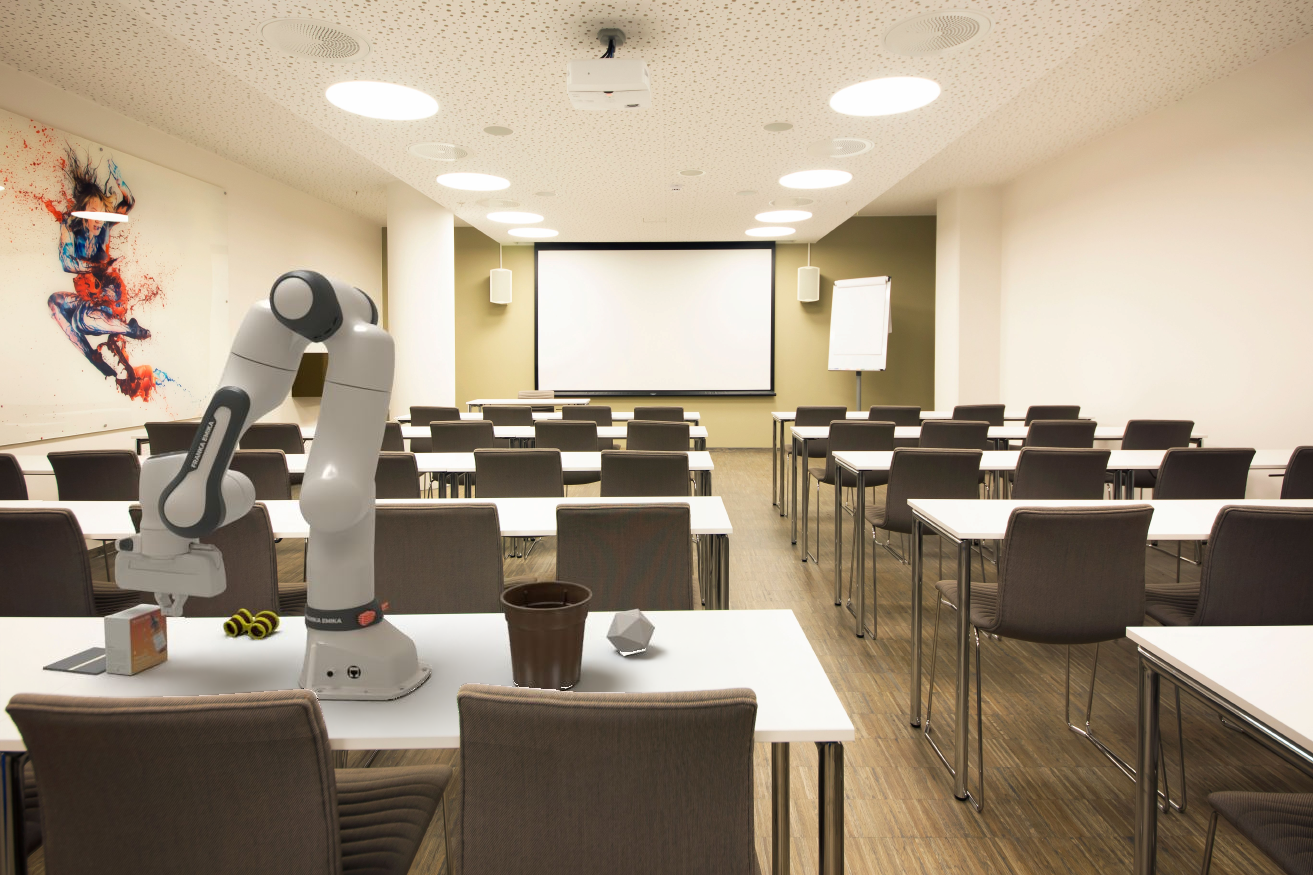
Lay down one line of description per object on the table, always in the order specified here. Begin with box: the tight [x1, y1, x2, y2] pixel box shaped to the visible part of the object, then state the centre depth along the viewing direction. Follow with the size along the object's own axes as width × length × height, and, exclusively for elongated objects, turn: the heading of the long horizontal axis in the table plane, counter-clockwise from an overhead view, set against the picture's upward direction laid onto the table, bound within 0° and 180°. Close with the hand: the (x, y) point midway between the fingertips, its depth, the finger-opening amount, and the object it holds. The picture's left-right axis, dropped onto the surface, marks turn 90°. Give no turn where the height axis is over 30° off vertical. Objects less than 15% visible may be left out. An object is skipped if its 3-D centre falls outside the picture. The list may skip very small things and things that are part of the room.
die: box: [606, 608, 656, 652], centre depth 147 cm, size 8×9×10 cm
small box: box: [103, 603, 169, 676], centre depth 135 cm, size 8×6×10 cm
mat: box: [42, 646, 106, 676], centre depth 137 cm, size 12×10×1 cm
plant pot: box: [500, 580, 593, 691], centre depth 132 cm, size 16×16×16 cm
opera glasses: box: [222, 608, 280, 640], centre depth 152 cm, size 10×5×5 cm, turn 79°
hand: (171, 615), depth 133 cm, fingers closed
